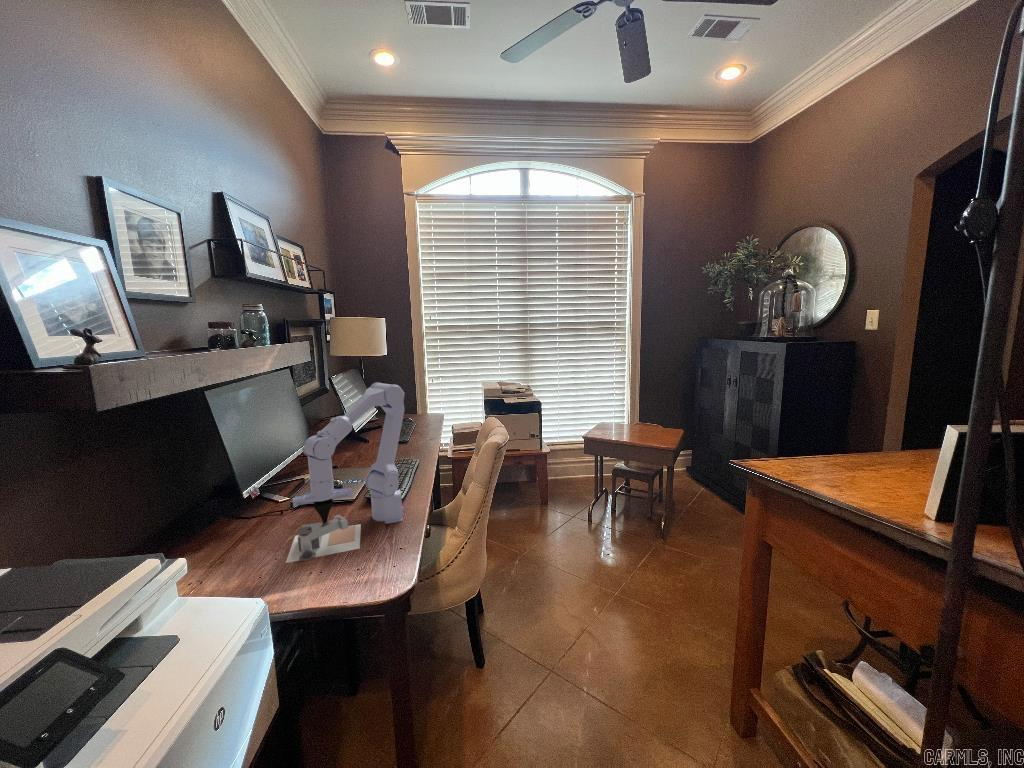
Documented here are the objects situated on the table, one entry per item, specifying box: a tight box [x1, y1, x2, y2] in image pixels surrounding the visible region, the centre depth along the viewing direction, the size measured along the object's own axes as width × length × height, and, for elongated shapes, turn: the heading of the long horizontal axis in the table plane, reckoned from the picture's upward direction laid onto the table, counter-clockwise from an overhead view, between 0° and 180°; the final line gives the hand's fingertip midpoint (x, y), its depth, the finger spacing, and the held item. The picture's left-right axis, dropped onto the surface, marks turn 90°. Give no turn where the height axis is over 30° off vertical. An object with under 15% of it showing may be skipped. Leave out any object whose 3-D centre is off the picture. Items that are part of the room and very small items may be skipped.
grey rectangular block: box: [298, 522, 322, 551], centre depth 108 cm, size 5×7×4 cm
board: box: [285, 523, 362, 564], centre depth 108 cm, size 18×15×1 cm
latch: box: [297, 514, 349, 558], centre depth 105 cm, size 5×12×8 cm, turn 140°
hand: (325, 524), depth 107 cm, fingers closed, pressing on latch
